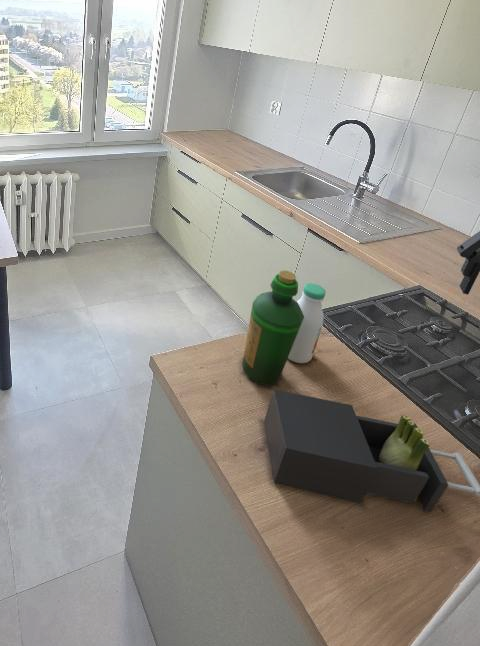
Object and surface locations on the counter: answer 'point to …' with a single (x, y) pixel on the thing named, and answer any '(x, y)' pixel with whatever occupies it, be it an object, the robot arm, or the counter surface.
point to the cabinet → (318, 446)
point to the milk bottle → (308, 323)
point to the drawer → (408, 482)
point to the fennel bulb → (404, 446)
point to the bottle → (272, 330)
